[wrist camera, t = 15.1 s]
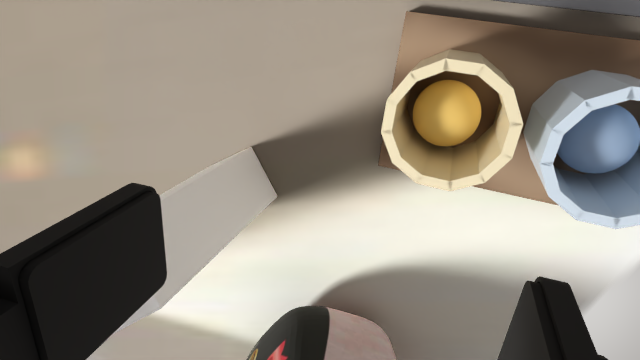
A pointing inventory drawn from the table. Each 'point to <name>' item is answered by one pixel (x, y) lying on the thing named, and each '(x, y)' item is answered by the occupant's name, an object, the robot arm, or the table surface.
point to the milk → (206, 219)
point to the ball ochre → (447, 113)
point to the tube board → (510, 77)
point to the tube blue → (586, 189)
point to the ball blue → (601, 140)
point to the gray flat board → (590, 5)
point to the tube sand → (462, 161)
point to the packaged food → (323, 337)
